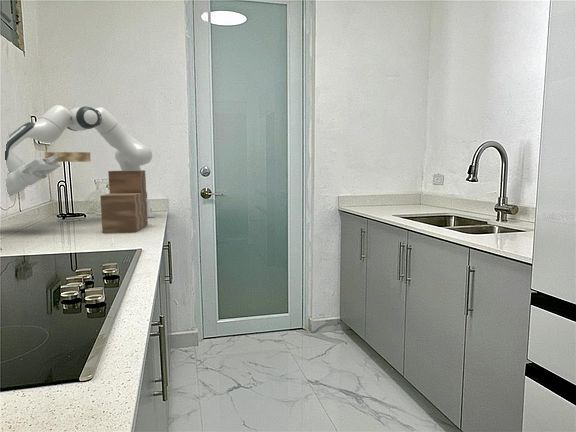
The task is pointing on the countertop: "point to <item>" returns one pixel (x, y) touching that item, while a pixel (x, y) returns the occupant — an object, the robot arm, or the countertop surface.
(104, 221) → the step shelf
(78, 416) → the countertop surface
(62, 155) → the tan rectangular block
